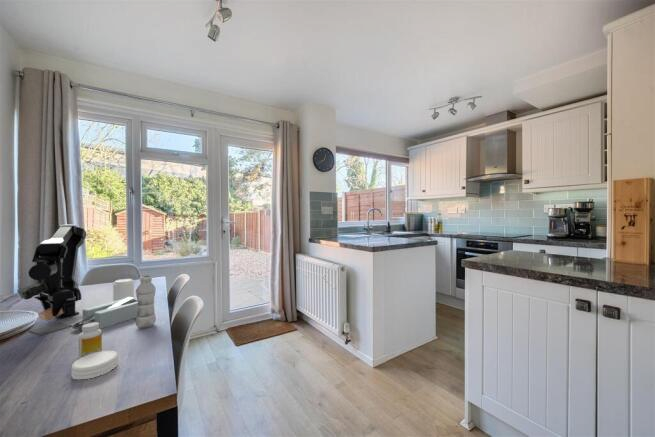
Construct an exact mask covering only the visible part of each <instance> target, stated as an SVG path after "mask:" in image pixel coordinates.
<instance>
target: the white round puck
mask: <svg viewBox="0 0 655 437" xmlns="http://www.w3.org/2000/svg"><path fill="white" fill-rule="evenodd" d="M118 365H119V353H118V352H117V351H116V350H115V351H114V350H102V351H100V352H96V353H92V354H89V355H86V356H84V357H82V358H78V359H77V360H75V361H74V362H73V363H72V364H71V371H70V372H71V378H72V379H73V380H75V379H88V380H90V379H89V378H93V377H97V376H100V375H102V374H105V373H107V372H109V371H110V372H112V371H113V370H115V369H116V368H117V367H118ZM115 367H116V368H115ZM114 368H115V369H114ZM112 369H113V370H112ZM111 370H112V371H111ZM110 372H109V373H110ZM107 374H108V373H107ZM105 375H106V374H105ZM102 376H103V375H102ZM100 377H101V376H100ZM97 378H98V377H97ZM93 379H94V378H93Z"/></svg>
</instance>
